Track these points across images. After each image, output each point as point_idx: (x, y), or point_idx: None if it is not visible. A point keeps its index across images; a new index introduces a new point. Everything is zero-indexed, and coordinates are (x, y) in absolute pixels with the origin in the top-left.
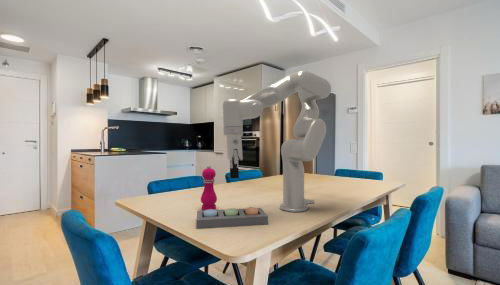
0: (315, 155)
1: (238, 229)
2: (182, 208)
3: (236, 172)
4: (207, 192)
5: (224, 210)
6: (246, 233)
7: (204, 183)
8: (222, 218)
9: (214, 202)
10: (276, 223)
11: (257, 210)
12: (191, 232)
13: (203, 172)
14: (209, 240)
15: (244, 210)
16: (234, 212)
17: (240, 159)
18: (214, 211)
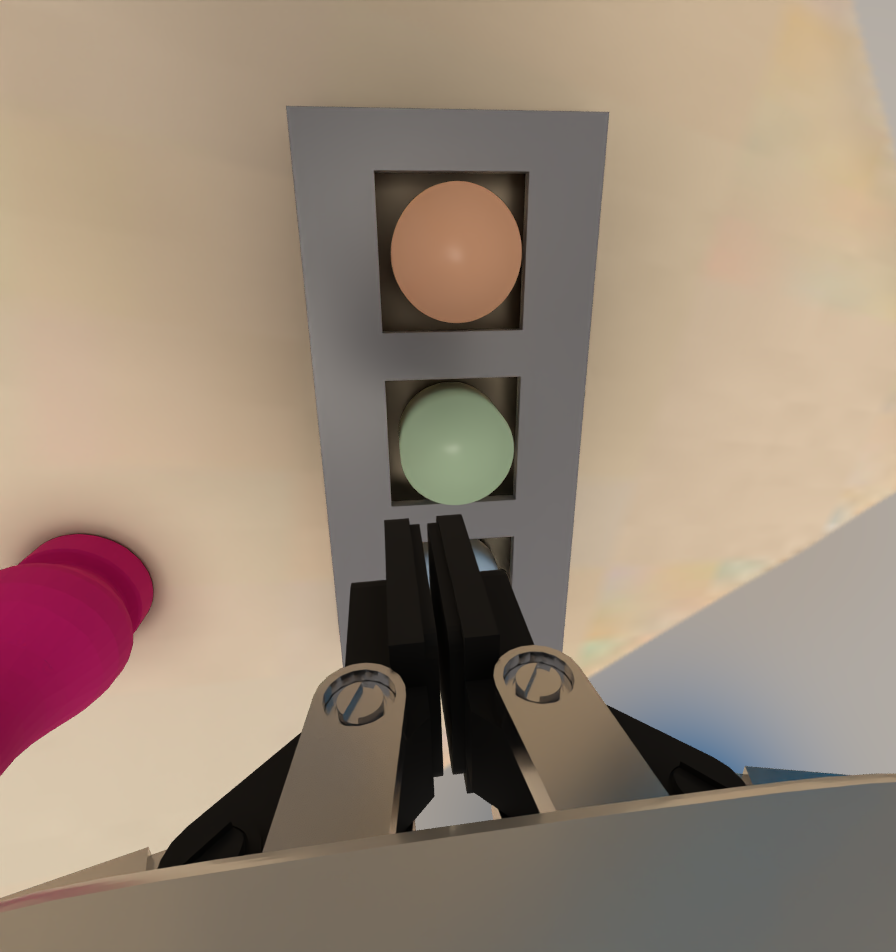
0: None
1: (625, 391)
2: (85, 754)
3: (517, 613)
4: (59, 705)
5: (357, 493)
6: (710, 348)
7: None
8: (569, 513)
9: (94, 578)
10: (578, 33)
11: (496, 198)
12: (596, 643)
13: None
14: (733, 554)
15: (377, 317)
16: (509, 428)
17: (650, 829)
18: None
